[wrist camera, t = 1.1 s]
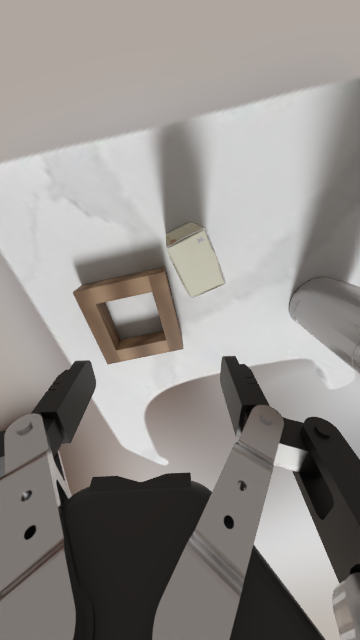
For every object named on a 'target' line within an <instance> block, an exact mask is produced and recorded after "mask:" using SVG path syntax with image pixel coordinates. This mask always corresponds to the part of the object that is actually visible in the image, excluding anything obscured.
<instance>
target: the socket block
mask: <svg viewBox="0 0 360 640" xmlns="http://www.w3.org/2000/svg"><path fill="white" fill-rule="evenodd" d="M149 292H153V296H154V299H155V303H156V306H157V310H158V313H159V316H160V320H161V323H162V327H163V330H164V331H159V332H155V333H150V334H145V335H140V336H136V337H131V338H126V339H121V340H120V338H119V335H118V333H117V330H116V328H115V326H114V323H113V321H112V318H111V316H110V314H109V311H108V309H107V306H106V304H105V302H108V301H112V300H117V299H121V298H126V297H130V296H135V295H140V294H144V293H149ZM73 294H74V296H75V298H76V300H77V302H78V304H79V306H80V309H81V311H82V313H83V315H84V317H85V319H86V321H87V323H88V325H89V327H90V329H91V331H92V333H93V335H94V337H95V339H96V341H97V343H98V345H99V348H100V350H101V352H102V354H103V356H104V358H105V360H106V362H107V364H112V363H117V362H122V361H126V360H131V359H136V358H141V357H146V356H151V355H156V354H161V353H166V352H171V351H176V350H181V349H183V341H182V336H181V331H180V327H179V323H178V319H177V315H176V311H175V307H174V303H173V298H172V294H171V290H170V286H169V282H168V278H167V274H166V270H165V267H161V268H157V269H152V270H148V271H144V272H139V273H135V274H130V275H126V276H121V277H117V278H112V279H108V280H103V281H99V282H94V283H90V284H86V285H82V286H80V287H79V288H78V289H76V290H75V291H74V292H73Z"/></svg>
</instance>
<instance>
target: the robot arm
mask: <svg viewBox="0 0 360 640" xmlns="http://www.w3.org/2000/svg"><path fill="white" fill-rule="evenodd" d="M289 312H290V315H291V317H292V318H293V320H295V321H296V322H297V323H298V324H299V325H301V326H302V327H303V328H304V329H306V330H307V331H308V332H309V333H310V334H311V335H313V336H314V337H315V338H316V339H318V340H319V341H320V342H321V343H322V344H324V345H325V346H326V347H327V348H329V349H330V350H331V351H332V352H333V353H335V354H336V355H337V356H338V357H340V358H341V359H342V360H343V361H344V362H346V363H347V364H348V365H349V366H351V367H352V368H353V369H354V370H356V371H357V372H358V373H359V374H360V287H358V286H355V285H352V284H350V283H347V282H344V281H336V280H334V279H331V278H327V277H320V278H315V279H312V280H310V281H308V282H306V283H305V284H303V285H302V286H301V287H300V288H299V289H298V290H297V291H296V292H295V293H294V295H293V297H292V299H291V301H290V305H289ZM220 382H221V387H222V390H223V394H224V397H225V401H226V404H227V408H228V411H229V414H230V418H231V421H232V424H233V428H234V431H235V435H236V437H240V438H239V440H238V442H237V443H235V444H234V446H233V448H232V450H231V452H230V455H229V457H228V459H227V461H226V463H225V466H224V468H223V470H222V472H221V474H220V476H219V479H218V481H217V483H216V485H215V488H214V489H213V492H211V491H210V490H209V489H208V488H206V487H205V486H203V485H201V484H199V483H197V482H194V481H191V476H190V473H171V474H164V475H161V476H159V477H156V478H153V479H150V480H147V481H144V482H137V481H133V480H129V479H126V478H122V477H119V476H107V477H93V478H92V481H91V484H90V486H89V487H87V488H85V489H82V490H81V491H79V492H77V493H76V494H74V495H73V496H72V495H71V492H70V490H69V487H68V484H67V480H66V476H65V472H64V468H63V464H62V460H61V457H60V453H59V451H58V450H59V448H60V446H61V444H64V443H71V441H72V439H73V437H74V434H75V432H76V430H77V428H78V426H79V423H80V421H81V419H82V417H83V415H84V412H85V410H86V408H87V406H88V404H89V401H90V399H91V397H92V395H93V393H94V390H95V387H96V379H95V375H94V372H93V368H92V365H91V362H90V361H89V360H87V361H75V362H74V363H73V365H72V366H71V368H70V369H69V370H65V371H64V372H63V373H61V374H60V375H59V376H58V377H57V378H56V380H55V381H54V382H53V385H51V386H50V388H49V389H48V391H47V392H46V393H45V395H44V396H43V397H42V399H41V400H40V402H39V403H38V405H37V406H36V407H35V409H34V410H33V411H32V413H31V414H28V415H25V416H23V417H21V418H19V419H18V420H16V421H15V422H13V423H12V424H11V425H10V426H9V428H8V429H7V430H5V431H2V432H0V640H325V638H324V637H323V636H322V634H321V633H320V632H319V630H318V629H317V628H316V626H315V625H314V624H313V622H312V621H311V620H310V619H309V617H308V616H307V614H306V613H305V612H304V610H303V609H302V608H301V607H300V605H299V604H298V603H297V601H296V600H295V599H294V597H293V596H292V595H291V593H290V592H289V591H288V589H287V588H286V587H285V585H284V584H283V583H282V581H281V580H280V579H279V578H278V576H277V575H276V574H275V572H274V571H273V570H272V568H271V567H270V566H269V564H268V563H267V562H266V560H265V559H264V558H263V556H262V555H261V554H260V552H259V551H258V550H257V549H256V547H255V546H254V545H253V544H254V540H255V536H256V532H257V529H258V525H259V521H260V517H261V513H262V509H263V505H264V502H265V498H266V494H267V490H268V487H269V483H270V479H271V475H272V471H273V467H274V465H277V466H279V467H283V468H286V469H289V470H292V471H293V474H294V476H295V478H296V481H297V483H298V486H299V488H300V490H301V492H302V495H303V498H304V500H305V502H306V505H307V507H308V510H309V512H310V514H311V516H312V519H313V521H314V524H315V526H316V529H317V531H318V533H319V536H320V538H321V540H322V543H323V545H324V548H325V550H326V552H327V555H328V557H329V559H330V562H331V564H332V567H333V569H334V572H335V574H336V576H337V579H338V581H339V583H340V584H339V585H338V586H336V588H335V590H334V592H333V598H332V601H333V610H334V614H335V618H336V621H337V625H338V629H339V633H340V640H360V460H359V458H358V457H357V455H356V454H355V453H354V451H353V450H352V449H351V447H350V446H349V444H348V443H347V441H346V440H345V439H344V437H343V436H342V435H341V433H340V432H339V430H338V429H337V428H336V427H335V426H333V425H332V424H331V423H330V422H328V421H326V420H324V419H322V418H318V417H309V418H307V419H306V420H305V422H304V423H302V422H298V421H293V420H289V419H286V418H284V417H282V416H281V414H280V413H279V412H278V411H277V410H275V409H274V408H272V407H270V406H269V404H268V402H267V400H266V398H265V396H264V394H263V392H262V390H261V388H260V387H259V384H258V383H257V381H256V379H255V377H254V375H253V373H252V371H251V369H249V368H248V367H247V366H246V365H245V364H239V363H238V360H237V358H236V357H235V356H223V357H222V363H221V373H220Z"/></svg>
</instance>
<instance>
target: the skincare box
mask: <svg viewBox="0 0 360 640" xmlns="http://www.w3.org/2000/svg"><path fill="white" fill-rule="evenodd" d="M166 245H167V252H168V254H169V256H170V259H171V261H172V263H173V265H174V268H175V270H176V272H177V274H178V276H179V278H180V280H181V282H182V284H183V285H184V287H185V289H186V291H187V293H188V295H189V297H190V298H194V297H196V296H198V295H201V294H203V293H206V292H208V291H210V290H213V289H215V288H217V287H219V286H222V285H224V284H225V282H226V281H225V278H224V275H223V273H222V270H221V267H220V264H219V262H218V259H217V256H216V254H215V251H214V248H213V246H212V243H211V241H210V238H209V235H208V233H207V230H206V228H205V227H202V226H200V225H197V224H195V223H192V222H189V223H187V224H185V225H183V226H181V227H179V228H177V229H175V230H173V231H171V232H169V233H168V234H166Z"/></svg>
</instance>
